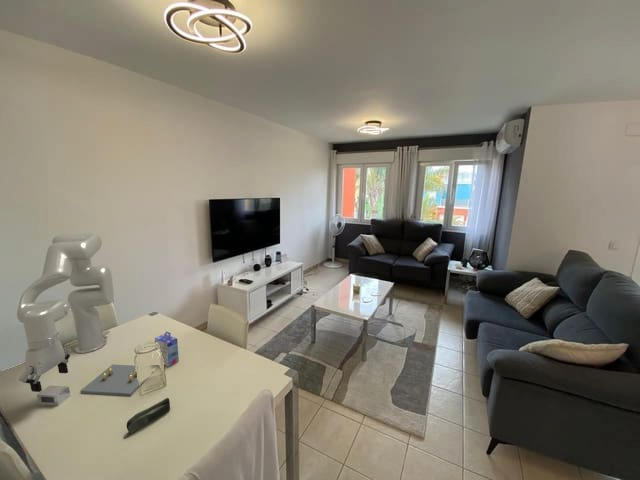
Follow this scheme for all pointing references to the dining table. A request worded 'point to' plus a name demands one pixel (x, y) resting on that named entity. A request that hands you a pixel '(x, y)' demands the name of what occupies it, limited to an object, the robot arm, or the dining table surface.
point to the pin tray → (114, 381)
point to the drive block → (53, 395)
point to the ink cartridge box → (168, 348)
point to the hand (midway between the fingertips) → (51, 381)
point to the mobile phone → (147, 416)
